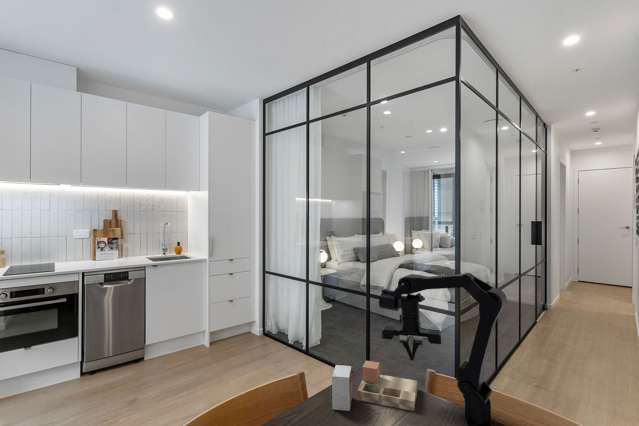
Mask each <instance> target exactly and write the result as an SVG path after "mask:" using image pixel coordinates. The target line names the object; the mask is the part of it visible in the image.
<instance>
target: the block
mask: <svg viewBox="0 0 639 426" xmlns="http://www.w3.org/2000/svg"><path fill="white" fill-rule="evenodd" d="M380 365H381V364H380V362H378V361H377V362H376V361H371V360H365V361H364V363H363V365H362V380H363V381H365V382H370V383H376V384H377V383H378V380H379V378H380V375H381V371H380V370H381V366H380Z"/></svg>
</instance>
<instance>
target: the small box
mask: <svg viewBox="0 0 639 426" xmlns="http://www.w3.org/2000/svg"><path fill="white" fill-rule="evenodd" d="M333 369H334V370H333V373H332V375H331V384H332V385H331V392H332V393H331V395H332V398H331V402H332V407H331V408H332V410H336V411H346V412H350V411H351V405H352V401H353V400H352V399H353V379H352V378H353V371H352V369H353V366H352V365H351V366H350V365H341V364H336V365H335V367H334V368H333Z"/></svg>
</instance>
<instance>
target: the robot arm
mask: <svg viewBox="0 0 639 426" xmlns="http://www.w3.org/2000/svg"><path fill="white" fill-rule="evenodd" d="M459 288H463V289H464V290H465V291H466V292H467V293H468V294H469V295H470V297H472V299H474V300H475V301H477V303H478V316H479V319H478V320H479V321H478V323H477V329H476V331H475V336H474V339H473V343H472V346H471V347H472V348H471V350H470V354H469V358H468V361H467V360H464V361H463V362H462V363H461V364H460V366H459V368H458V372H457V373H458V374H457V377H456V378H455V381H457V383H456V385H457V388H458V390H459V391H460V393H461V394H462V397H463V399H464V400H463V409H464V410H463V411H464V413H463V414H464V419H466V425H468V426H471V425H472V426H493V425H492V405H491V400H490V397H491V395H492V393H493V389H492V388H491V387H490V386H489V385H488V384H487V382H486V381H485V362H486V357H487V355H488V351H489V347H490V342H491V340H492V335H493V332H494V328H495V325H496V323H497V321H498V320H497V319H498V318H499V316H500V315H501V313H502V311H503V309H504V308H505V305H506V304H507V299H508V298H507V295H506V294H505V292H504V291H502V289H499V288H496V287H493V286H492V285H490V284H489V283H487V282H485V281H484V280H482V279H480V278H478V277H477V276H475V275H473V273H470V272H465V273H458V274H457V273H456V274H447V275H446V274H445V275H443V274H442V275H434V276H433V275H432V276H429V275H428V276H426V275H421V274H414V273H413V274H407V275H405V276H401V277H400V278H399V279H398V282H397V286H396V288H395V289H394V290H392V289H387V288H384V289H383V288H382V290H381V293H380V296H379V300H378V305H379V308H380V309H382V310H389V311H392V312H393V311H395V312H398V311H400V309H401V314H399V324H400V325H401V329H397V328H396V325H384V326H383V328H382V331H381V339H383V340H384V339H385V340H393V338H394V337H399V340H398V341H399V343H400V344H402V345H403V347H404V349H405V350H406V352H407V354H408V357H409V359H410V361H412V362H413V361H414V360H415V356H416V354H417V350H418V348H419V346H422V345H423V343H424V339H427V341H428V342H429V344H431V345H432V344H434V345H441V344H442V332H441V330H439V329H433V328H432V329H430V328H428V330H427V332H425V331H421V330H422V329H421V327H422V326H421V324H422V323H421V320H420V303H421V302H424V301H425V300H426V297H424V296H423V295H422V294H421V293H420V292H422V291H427V290H439V289H459ZM414 293H416V294H414ZM411 338H413V340H412V344H411Z"/></svg>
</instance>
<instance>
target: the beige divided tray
mask: <svg viewBox="0 0 639 426" xmlns="http://www.w3.org/2000/svg"><path fill="white" fill-rule="evenodd" d="M356 396H357V397H356V399H357V401H361V402H366V403H367V402H368V403H372V404H376V405H383V406H387V407H392V408H397V409H402V410H407V411H412V412H414V411H415V409H416V400H417V396H418V380H416V379H415V380H414V379H407V378H404V377H396V376H391V375H384V374H380V378H379V380H378V383H377V384H376V383H370V382H365V381H363V379H362V380H361V382H360V384H359V386H358V389H357V392H356Z"/></svg>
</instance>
